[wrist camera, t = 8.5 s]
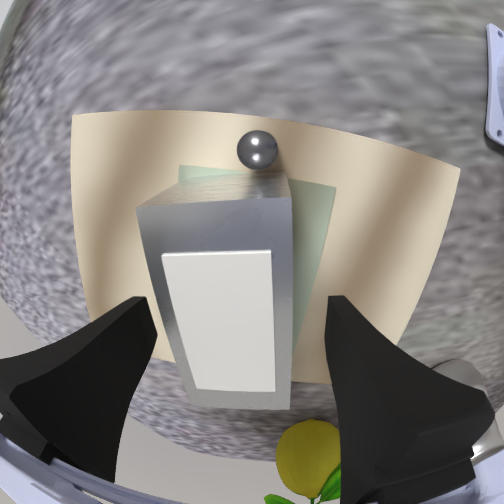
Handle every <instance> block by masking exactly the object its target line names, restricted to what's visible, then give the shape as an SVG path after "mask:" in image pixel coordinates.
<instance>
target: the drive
mask: <svg viewBox="0 0 504 504" xmlns="http://www.w3.org/2000/svg"><path fill="white" fill-rule="evenodd" d="M135 209H136V214H137V220H138V225H139V230H140V235H141V239H142V244H143V249H144V253H145V258H146V262H147V266H148V270H149V274H150V278H151V282H152V286H153V290H154V294H155V297H156V301H157V305H158V308H159V312H160V315H161V318H162V322H163V325H164V328H165V332H166V335H167V338H168V341H169V344H170V347H171V350H172V353H173V356H174V359H175V362H176V365H177V368H178V371H179V374H180V377H181V379H182V382H183V385H184V387H185V390H186V393H187V395H188V398H189V400H190V403H191V405H193V406H203V407H215V408H230V409H254V410H288V409H290V393H291V368H292V330H293V233H292V197H291V193H290V188H289V184H288V180H287V176H286V172H285V171H274V172H253V173H236V174H223V175H210V176H199V177H189V178H185V179H183V180H181V181H179V182H178V183H176V184H174V185H172V186H171V187H169V188H167V189H165V190H164V191H162V192H160V193H159V194H157V195H155V196H154V197H152V198H150V199H149V200H147V201H145V202H144V203H142V204H141V205H139V206H137V207H136V208H135Z"/></svg>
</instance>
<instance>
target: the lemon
mask: <svg viewBox="0 0 504 504" xmlns="http://www.w3.org/2000/svg"><path fill="white" fill-rule="evenodd" d="M276 465H277V469H278V472H279V475H280V477H281V480H282V481H283V483H284V484H285V486H286V487H287V488H288V489H290V490H291V491H292V492H294V493H296V494H299V495H302V496H306V497H307V498H308V499H310V500H311V504H314V499H316V498H318V497H319V495H321V498H320V501H319V502H318V503H317V504H319V503H321V502H324V501H329V500H334V499H338V498H340V490H341V454H340V434H339V430H338V429H337V428H336V427H335V426H333V425H332V424H330V423H329V422H325V421H320V420H315V419H313V418H311V419H308V420H306V421H303V422H300V423H297V424H295V425H293V426H291V427H289V428H288V429H287V430H286V431H285V432H284V433H283V434H282V436H281V438H280V440H279V442H278V445H277V448H276ZM264 500H265V502H266V504H295V503H293V502H291V501H289V500H287V499H285V498H283V497H280V496H278V495H272V494H269V495H267V496H265V497H264Z"/></svg>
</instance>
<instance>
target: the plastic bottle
mask: <svg viewBox="0 0 504 504" xmlns="http://www.w3.org/2000/svg"><path fill="white" fill-rule="evenodd" d="M432 370H434V371H436V372H438V373H440V374H442V375H444V376H446V377H449V378H451V379H453V380H455V381H457V382H460V383H463V384H466V385H468V386H471V387H474V388H477V389H480V390H483V391H484V392H485V394H486V396H487V398H488V394H487V389H486V386H485V383H484V381H483V378H482V375H481V373H480V372H479V371H478V370H477V369H476V368H475V367H474V365H473V364H471V363H470V362H467V361H464V360H460V359H454V360H450V361H447V362H444V363H442V364H440V365H438V366H436V367H435V368H433V369H432ZM472 447H473V450H474V453H475V454H474V457H473V458H471V462H472V465H475V464H476V463H478V462H479V461H481V460H483V459H485V458H487V457H489V456H491V455H493V454H494V453H496V452H498V451H500V450H502V449H504V440H503V438H502V436H501V434H500V432H499V429H498V426H497V422H496V419H495V418H494V420H493V423H492V425H491V426H490V427H489V429H488V430H487V431H486V432H485V433H484V434H483V435H482V437H481V438H480V439H479V440H478V441H477V442H476V443H475V444H474V445H473V446H472Z"/></svg>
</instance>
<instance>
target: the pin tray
mask: <svg viewBox="0 0 504 504" xmlns="http://www.w3.org/2000/svg"><path fill="white" fill-rule="evenodd" d="M460 170H461V169H460V168H457V167H455V166H452V165H450V164H447V163H445V162H442V161H439V160H437V159H434V158H431V157H429V156H426V155H423V154H420V153H417V152H414V151H411V150H408V149H405V148H402V147H399V146H395V145H392V144H389V143H385V142H382V141H378V140H375V139H371V138H367V137H363V136H360V135H356V134H352V133H347V132H343V131H339V130H334V129H330V128H325V127H320V126H315V125H310V124H304V123H299V122H293V121H287V120H280V119H273V118H266V117H258V116H250V115H241V114H231V113H218V112H203V111H180V110H137V111H114V112H100V113H88V114H79V115H73V116H72V132H71V192H72V209H73V221H74V231H75V240H76V247H77V255H78V261H79V268H80V273H81V279H82V284H83V290H84V294H85V299H86V304H87V308H88V313H89V317H90V321H91V322H93V321H94V320H96V319H97V318H99V317H100V316H102V315H103V314H105V313H107V312H108V311H110V310H111V309H113V308H114V307H116V306H117V305H119V304H120V303H122V302H124V301H125V300H127V299H129V298H131V297H133V296H145V297H146V298H147V301H148V305H149V308H150V311H151V314H152V318H153V321H154V324H155V327H156V330H157V333H158V337H157V340H156V344H155V347H154V350H153V353H152V356H151V357H153V358H157V359H161V360H165V361H170V362H174V363H176V362H175V359H174V356H173V353H172V350H171V347H170V344H169V341H168V338H167V335H166V332H165V328H164V325H163V322H162V318H161V315H160V312H159V308H158V305H157V301H156V297H155V294H154V290H153V286H152V282H151V278H150V274H149V270H148V266H147V262H146V258H145V253H144V249H143V244H142V239H141V235H140V230H139V225H138V220H137V214H136V209H135V208H136V207H137V206H139V205H141V204H142V203H144V202H145V201H147V200H149V199H150V198H152V197H154V196H155V195H157V194H159V193H160V192H162V191H164V190H165V189H167V188H169V187H171V186H172V185H174V184H176V183H178V182H179V181H181V180H183V179H185V178H189V177H199V176H210V175H223V174H236V173H253V172H274V171H285V172H286V176H287V180H288V184H289V188H290V193H291V197H292V233H293V330H292V368H291V381H293V382H305V383H319V384H332V382H331V378H330V373H329V369H328V364H327V360H326V350H325V340H324V334H325V325H326V315H327V304H328V296H334V295H344V296H345V297H346V298H347V299H348V300H349V301H350V302H351V303H352V304H353V305H354V306H355V307H356V308H357V309H358V311H359V312H360V313H361V314H362V315H363V316H364V317H365V318H366V319H367V320H368V321H369V322H370V323H371V324H372V325H373V326H374V327H375V328H376V329H377V330H378V331H379V332H381V333H382V334H383V335H384V336H385V337H386V338H387V339H389V340H390V341H391V342H392V343H393V344H395V345H397V343H398V341H399V339H400V337H401V336H402V334H403V332H404V330H405V328H406V326H407V324H408V322H409V319H410V317H411V315H412V313H413V311H414V309H415V307H416V304H417V302H418V300H419V298H420V295H421V293H422V291H423V288H424V286H425V284H426V281H427V279H428V276H429V274H430V271H431V269H432V266H433V263H434V261H435V258H436V255H437V252H438V249H439V247H440V244H441V241H442V238H443V235H444V231H445V228H446V225H447V222H448V218H449V215H450V211H451V208H452V204H453V200H454V196H455V192H456V188H457V184H458V179H459V175H460Z"/></svg>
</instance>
